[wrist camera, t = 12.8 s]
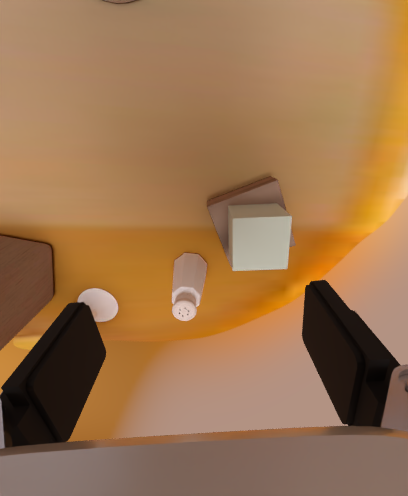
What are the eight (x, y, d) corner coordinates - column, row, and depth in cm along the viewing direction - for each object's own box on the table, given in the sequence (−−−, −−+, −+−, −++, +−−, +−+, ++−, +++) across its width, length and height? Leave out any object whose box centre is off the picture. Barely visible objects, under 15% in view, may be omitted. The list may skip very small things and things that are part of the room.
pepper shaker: (202, 247, 37) (199, 286, 27) (212, 278, 39) (213, 325, 29) (167, 256, 38) (153, 298, 28) (179, 286, 40) (169, 335, 30)
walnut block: (207, 200, 35) (207, 206, 31) (270, 175, 33) (277, 179, 30) (228, 255, 38) (230, 267, 34) (286, 234, 37) (295, 245, 33)
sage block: (228, 205, 31) (232, 218, 25) (276, 203, 31) (291, 216, 25) (228, 250, 33) (232, 270, 28) (274, 248, 33) (287, 268, 28)
